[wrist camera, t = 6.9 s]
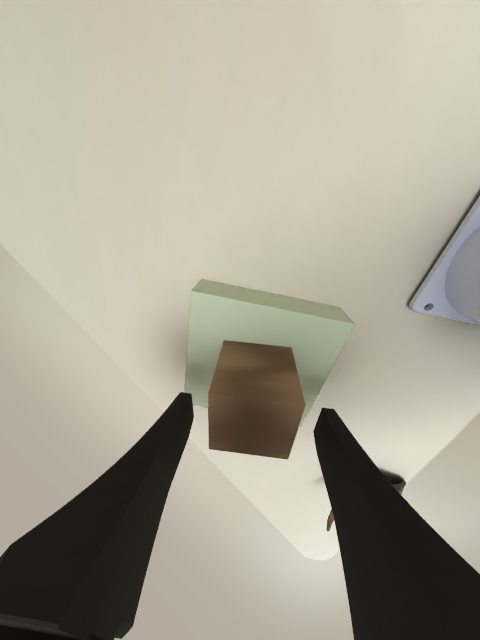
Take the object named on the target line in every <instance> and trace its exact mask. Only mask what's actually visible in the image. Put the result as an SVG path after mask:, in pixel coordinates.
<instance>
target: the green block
mask: <svg viewBox="0 0 480 640" xmlns="http://www.w3.org/2000/svg"><path fill="white" fill-rule="evenodd" d="M354 325H355V324H354V322H353V321H352V320H351V319H350V318H349V317H348V316H347V315H346V313H345V312H344V311H343V310H342V309H341V308H340V307H336V306H331V305H326V304H321V303H316V302H311V301H306V300H301V299H296V298H291V297H286V296H281V295H276V294H272V293H267V292H262V291H257V290H252V289H247V288H242V287H237V286H232V285H227V284H222V283H217V282H212V281H207V280H201V281H200V282H199V283H198V284H197V285H196V286H195V287H194V288H193V289H192V290H191V299H190V315H189V330H188V346H187V361H186V376H185V392H184V393H192V404H193V405H197V406H202V407H207V408H208V392H209V389H210V385H211V382H212V379H213V375H214V372H215V368H216V365H217V361H218V358H219V354H220V351H221V348H222V344H223V341H224V340H227V341H237V342H246V343H256V344H266V345H275V346H285V347H292V351H293V355H294V359H295V364H296V368H297V372H298V376H299V380H300V384H301V388H302V392H303V396H304V400H305V404H306V406H305V409H304V412H303V415H302V418H301V421H300V424H299V426H301V425H302V424H303V422H304V420H305V418H306V416H307V414H308V412H309V410H310V408H311V407H312V405H313V403H314V401H315V399H316V397H317V395H318V393H319V391H320V389H321V388H322V386H323V384H324V382H325V380H326V378H327V376H328V374H329V372H330V371H331V369H332V367H333V365H334V363H335V361H336V359H337V357H338V355H339V353H340V352H341V350H342V348H343V346H344V344H345V342H346V340H347V338H348V336H349V335H350V333H351V331H352V329H353V327H354Z"/></svg>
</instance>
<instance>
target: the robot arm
mask: <svg viewBox="0 0 480 640" xmlns="http://www.w3.org/2000/svg"><path fill="white" fill-rule="evenodd" d="M427 304H429V305H428V306H427V307H426V308H424V307H425V306H426V305H427ZM409 307H410V309H411V310H413V311H415V312H418V313H423V314H428V315H433V316H437V317H442V318H447V319H452V320H456V321H461V322H466V323H471V324H475V325H480V196H479V198H478V199H477V201H476V202H475V204H474V205H473V207H472V208H471V210H470V211H469V213H468V214H467V216H466V217H465V219H464V220H463V222H462V224H461V225H460V227H459V228H458V230H457V231H456V233H455V234H454V236H453V237H452V239H451V240H450V242H449V243H448V245H447V247H446V248H445V250H444V251H443V253H442V254H441V256H440V257H439V259H438V260H437V262H436V263H435V265H434V266H433V268H432V269H431V271H430V273H429V274H428V276H427V277H426V279H425V280H424V282H423V283H422V285H421V286H420V288H419V289H418V291H417V292H416V294H415V296H414V297H413V299H412V300H411V302H410V304H409ZM193 418H194V415H193V404H192V393H183V392H181V393H179V394H178V396H177V397H176V398H175V400H174V401H173V402H172V403H171V405H170V406H169V407H168V408H167V410H166V411H165V412H164V413H163V415H162V416H161V417H160V418H159V419H158V420H157V421H156V422H155V424H154V425H153V426H152V427H151V428H150V429H149V430H148V431H147V432H146V433H145V434H144V435H143V437H142V438H141V439H140V440H139V441H138V442H137V443H136V444H135V445H134V446H133V447H132V448H131V449H130V450H129V451H128V452H127V453H126V454H125V455H124V456H123V457H121V458H120V459H119V460H118V461H117V462H116V463H115V464H114V465H113V466H112V467H110V468H109V469H108V470H107V471H106V472H105V473H104V474H102V475H101V476H100V477H99V478H98V479H97V480H96V481H95V482H93V483H92V484H91V485H90V486H89V487H87V488H86V489H85V490H83V491H82V492H81V493H80V494H78V495H77V496H76V497H75V498H73V499H72V500H71V501H69V502H68V503H67V504H66V505H64V506H63V507H62V508H61V509H59V510H58V511H57V512H55V513H54V514H53V515H51V516H50V517H48V518H47V519H46V520H44V521H43V522H42V523H40V524H39V525H37V526H36V527H35V528H33V529H32V530H30V531H29V532H28V533H26V534H25V535H23V536H22V537H21V538H19V539H18V540H17V541H15V542H14V543H12V544H11V545H10V546H9V548H8V549H7V550H6V551H5V552H4V553H3V555H2V556H1V557H0V640H114V638H120V639H121V638H123V637H124V635H126V633H127V632H128V631H129V630H130V629H131V628H132V626H133V623H134V619H135V615H136V611H137V607H138V603H139V598H140V595H141V591H142V587H143V582H144V579H145V575H146V571H147V567H148V563H149V560H150V556H151V552H152V548H153V544H154V541H155V537H156V533H157V530H158V526H159V523H160V519H161V515H162V512H163V509H164V505H165V502H166V498H167V495H168V492H169V489H170V486H171V483H172V480H173V478H174V475H175V472H176V469H177V467H178V464H179V461H180V459H181V456H182V453H183V451H184V448H185V445H186V443H187V440H188V437H189V433H190V430H191V426H192V422H193ZM314 438H315V444H316V450H317V455H318V459H319V462H320V466H321V470H322V474H323V477H324V481H325V485H326V488H327V492H328V496H329V499H330V503H331V507H332V511H333V515H334V520H335V525H336V530H337V536H338V541H339V546H340V552H341V558H342V563H343V569H344V575H345V581H346V587H347V593H348V599H349V606H350V613H351V620H352V627H353V634H354V640H480V574H479V573H478V572H477V571H476V570H475V569H474V568H473V567H472V566H470V565H469V564H468V563H467V562H466V561H465V560H464V559H463V558H462V557H461V556H460V555H459V554H458V553H457V552H456V551H455V550H454V549H453V548H452V547H451V546H450V545H449V544H448V543H447V542H446V541H445V540H444V539H443V538H441V536H440V535H439V534H438V533H437V532H436V531H435V530H434V529H433V528H432V527H431V526H430V525H429V524H428V523H427V522H426V521H425V520H424V519H422V517H421V516H420V515H419V514H418V513H417V512H416V511H415V510H414V509H413V508H412V507H411V506H410V504H409V503H408V502H407V501H406V500H405V499H404V498H403V497H402V496H401V495H400V493H399V492H398V491H397V490H396V489H395V488H394V487H393V485H392V484H391V483H390V482H389V481H388V480H387V478H386V477H385V476H384V475H383V474H382V472H381V471H380V470H379V469H378V468H377V466H376V465H375V464H374V463H373V461H372V460H371V459H370V458H369V456H368V455H367V454H366V452H365V451H364V450H363V448H362V447H361V446H360V444H359V443H358V442H357V440H356V439H355V438H354V436H353V435H352V434H351V432H350V431H349V430H348V428H347V427H346V425H345V424H344V423H343V421H342V420H341V418H340V417H339V416H338V414H337V413H336V411H335V410H334V409H328V408H322V410H321V413H320V415H319V418H318V421H317V423H316V426H315V429H314Z"/></svg>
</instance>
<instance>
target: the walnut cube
mask: <svg viewBox="0 0 480 640" xmlns="http://www.w3.org/2000/svg"><path fill="white" fill-rule="evenodd" d="M305 406H306V404H305V400H304V396H303V392H302V388H301V384H300V380H299V376H298V372H297V368H296V364H295V359H294V355H293V351H292V347H285V346H275V345H266V344H256V343H246V342H237V341H227V340H224V341H223V344H222V348H221V351H220V354H219V358H218V361H217V365H216V368H215V372H214V375H213V379H212V382H211V385H210V389H209V392H208V418H209V449H213V450H221V451H228V452H236V453H243V454H251V455H259V456H266V457H274V458H281V459H288V458H289V455H290V452H291V448H292V445H293V442H294V439H295V436H296V433H297V430H298V427H299V424H300V421H301V418H302V415H303V412H304V409H305Z"/></svg>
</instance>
